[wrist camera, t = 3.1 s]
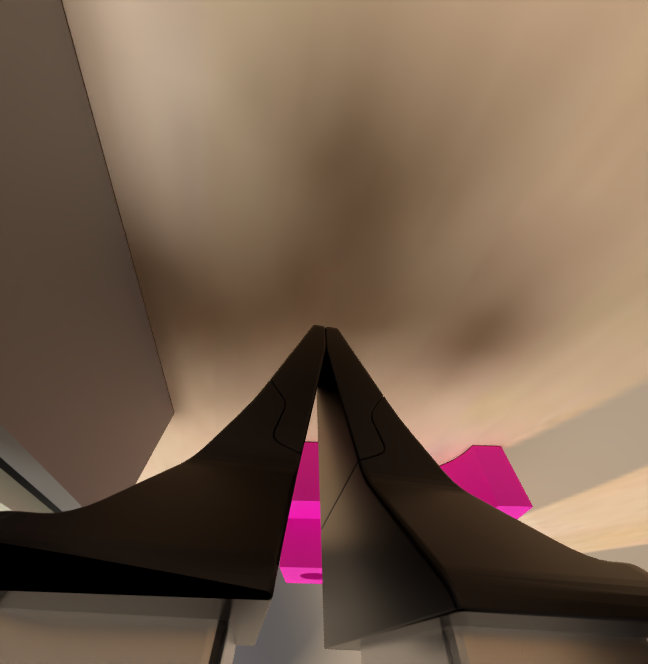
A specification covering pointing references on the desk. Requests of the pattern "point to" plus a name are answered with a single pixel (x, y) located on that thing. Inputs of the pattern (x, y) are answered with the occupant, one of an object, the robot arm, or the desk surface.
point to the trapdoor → (18, 497)
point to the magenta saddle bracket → (466, 471)
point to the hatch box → (66, 284)
